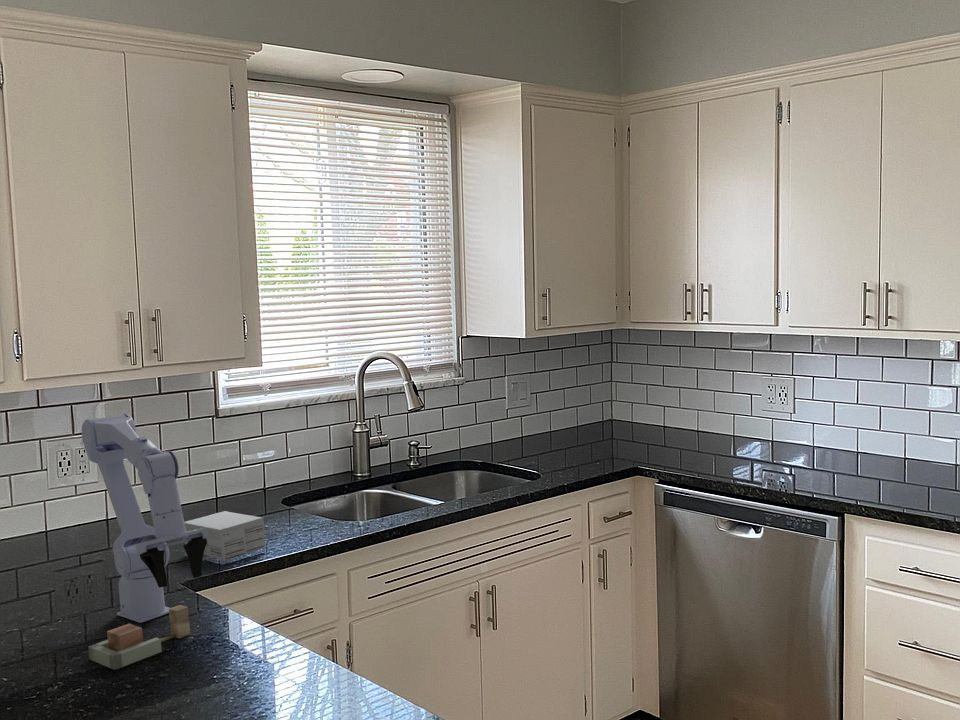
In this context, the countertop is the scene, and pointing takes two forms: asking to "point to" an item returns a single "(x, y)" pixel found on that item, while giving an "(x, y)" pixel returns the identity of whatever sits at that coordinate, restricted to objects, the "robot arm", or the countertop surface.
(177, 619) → the corded block
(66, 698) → the countertop surface
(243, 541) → the supplement box
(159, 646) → the pale green u-shape
